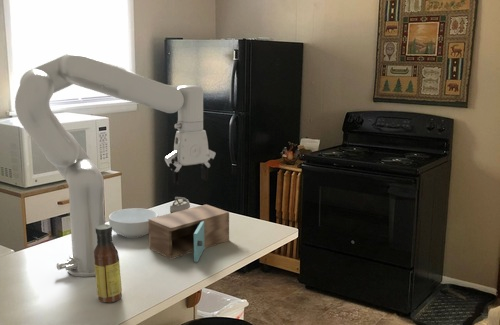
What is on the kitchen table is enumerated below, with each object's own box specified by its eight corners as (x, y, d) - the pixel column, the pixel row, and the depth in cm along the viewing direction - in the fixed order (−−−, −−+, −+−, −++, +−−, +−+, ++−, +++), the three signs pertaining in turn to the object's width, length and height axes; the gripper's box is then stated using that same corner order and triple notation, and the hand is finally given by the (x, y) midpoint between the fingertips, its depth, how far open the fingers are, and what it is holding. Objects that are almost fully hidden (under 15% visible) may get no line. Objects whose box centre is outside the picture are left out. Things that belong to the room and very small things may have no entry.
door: (201, 262, 170) (200, 234, 168) (194, 261, 171) (193, 233, 169) (208, 248, 182) (207, 221, 180) (201, 247, 182) (201, 221, 180)
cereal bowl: (139, 245, 185) (138, 225, 183) (99, 237, 192) (98, 218, 190) (168, 230, 200) (167, 211, 198) (130, 223, 207) (129, 205, 205)
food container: (188, 233, 196) (187, 206, 194) (170, 233, 197) (169, 206, 194) (192, 222, 208) (192, 196, 206) (175, 222, 209) (175, 196, 206)
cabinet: (171, 258, 174) (170, 228, 172) (149, 248, 183) (148, 218, 180) (229, 240, 190) (229, 212, 188) (206, 231, 199) (206, 204, 197)
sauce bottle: (124, 293, 151) (120, 222, 146) (119, 303, 145) (116, 230, 140) (99, 293, 150) (95, 222, 146) (93, 304, 144) (89, 230, 140)
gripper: (171, 130, 162) (171, 188, 165) (221, 126, 172) (221, 180, 175) (159, 127, 168) (159, 182, 171) (208, 123, 178) (208, 175, 181)
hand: (190, 181), depth 173 cm, fingers open, 9 cm apart
